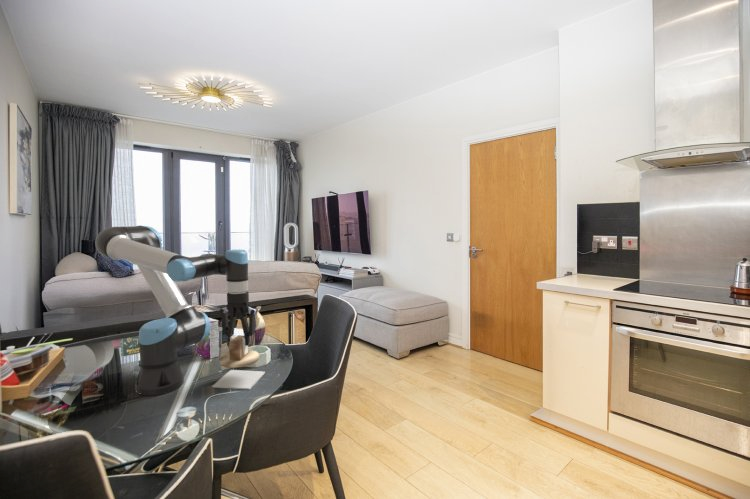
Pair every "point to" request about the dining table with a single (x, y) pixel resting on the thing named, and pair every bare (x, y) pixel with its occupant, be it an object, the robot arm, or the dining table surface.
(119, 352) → the dining table surface
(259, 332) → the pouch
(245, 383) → the mat
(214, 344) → the candy bar box
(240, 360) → the lid
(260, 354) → the bowl
